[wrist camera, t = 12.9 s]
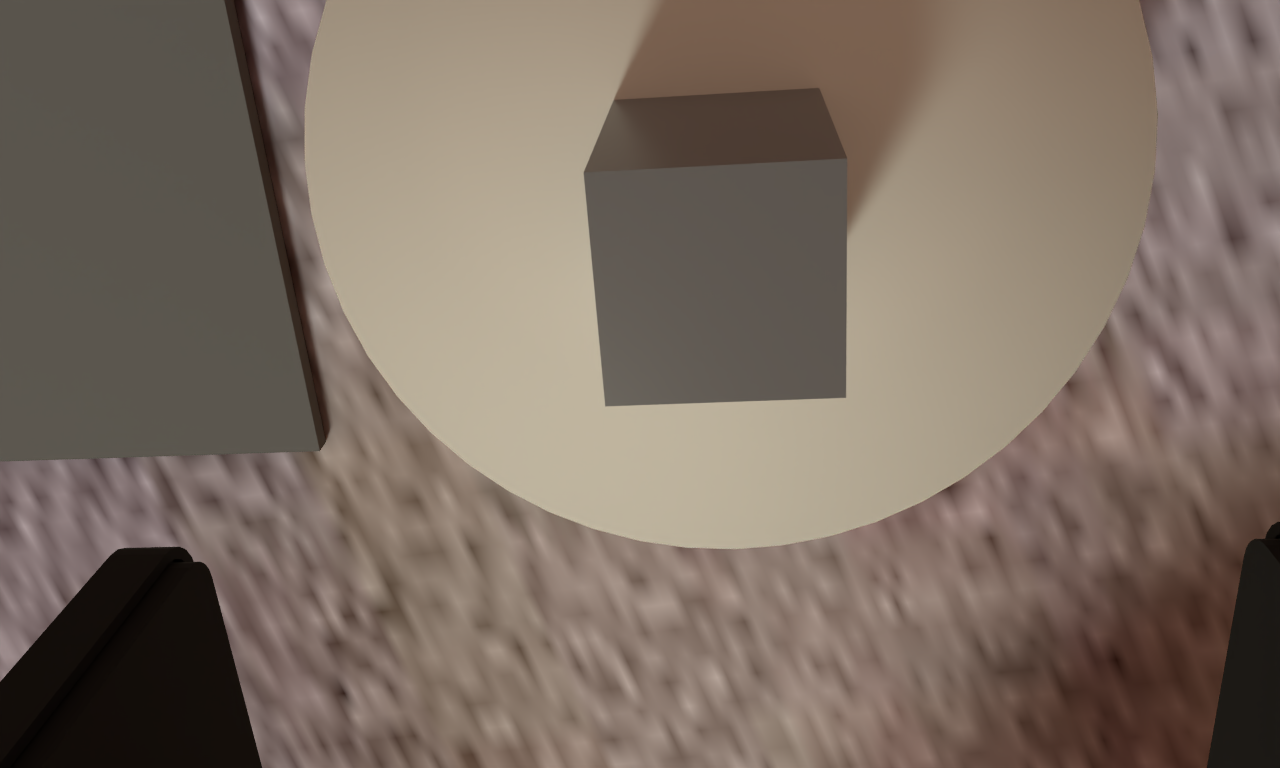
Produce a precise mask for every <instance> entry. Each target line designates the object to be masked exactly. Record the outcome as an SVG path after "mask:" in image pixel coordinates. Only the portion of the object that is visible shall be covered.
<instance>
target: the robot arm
mask: <svg viewBox="0 0 1280 768" xmlns="http://www.w3.org/2000/svg"><path fill="white" fill-rule="evenodd" d="M0 768H262V766H261V762H260V758H259V754H258V750H257V747H256V743H255V739H254V735H253V731H252V727H251V724H250V720H249V716H248V712H247V708H246V705H245V701H244V697H243V693H242V689H241V686H240V682H239V678H238V674H237V670H236V667H235V663H234V659H233V655H232V651H231V648H230V644H229V640H228V636H227V632H226V629H225V625H224V621H223V617H222V613H221V609H220V606H219V602H218V598H217V594H216V590H215V587H214V583H213V579H212V576H211V573H210V570H209V569H208V567H207V566H206V565H205V564H204V563H202V562H193V559H192V557H191V555H190V554H189V553H188V552H187V550H185V549H183V548H181V547H151V548H123V549H118V550H117V551H115V552H114V553H113V554H112V555H110V557H109V558H108V559H107V560H106V561H105V562H104V563H103V565H102V566H101V567H100V568H99V569H98V570H97V571H96V573H95V574H94V575H93V576H92V577H91V578H90V579H89V581H88V582H87V583H86V584H85V585H84V586H83V588H82V589H81V590H80V591H79V592H78V593H77V594H76V596H75V597H74V598H73V599H72V600H71V601H70V602H69V604H68V605H67V606H66V607H65V608H64V609H63V610H62V612H61V613H60V614H59V615H58V616H57V617H56V619H55V620H54V621H53V622H52V623H51V624H50V625H49V627H48V628H47V629H46V630H45V631H44V632H43V633H42V635H41V636H40V637H39V638H38V639H37V640H36V641H35V643H34V644H33V645H32V646H31V647H30V648H29V650H28V651H27V652H26V653H25V654H24V655H23V656H22V658H21V659H20V660H19V661H18V662H17V663H16V664H15V666H14V667H13V668H12V669H11V670H10V671H9V672H8V674H7V675H6V676H5V677H4V678H3V679H2V681H1V682H0ZM1207 768H1280V522H1277V523H1275V524H1274V525H1272V526H1271V528H1270V529H1269V531H1268V532H1267V534H1266V538H1265V539H1254V540H1252V541H1251V542H1250V543H1249V544H1248V546H1247V548H1246V551H1245V555H1244V560H1243V566H1242V571H1241V577H1240V583H1239V588H1238V594H1237V600H1236V605H1235V611H1234V617H1233V622H1232V628H1231V634H1230V640H1229V645H1228V651H1227V657H1226V662H1225V668H1224V674H1223V679H1222V685H1221V691H1220V696H1219V702H1218V708H1217V713H1216V719H1215V725H1214V731H1213V736H1212V742H1211V748H1210V753H1209V759H1208V765H1207Z"/></svg>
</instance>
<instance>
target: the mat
mask: <svg viewBox="0 0 1280 768" xmlns="http://www.w3.org/2000/svg"><path fill="white" fill-rule="evenodd" d="M325 442H326V440H325V435H324V431H323V426H322V421H321V416H320V411H319V407H318V402H317V397H316V392H315V387H314V383H313V378H312V373H311V368H310V363H309V359H308V354H307V349H306V344H305V339H304V335H303V330H302V325H301V320H300V315H299V311H298V306H297V301H296V296H295V292H294V287H293V282H292V277H291V272H290V268H289V263H288V258H287V253H286V248H285V244H284V239H283V234H282V229H281V224H280V220H279V215H278V210H277V205H276V200H275V196H274V191H273V186H272V181H271V176H270V172H269V167H268V162H267V157H266V153H265V148H264V143H263V138H262V133H261V129H260V124H259V119H258V114H257V109H256V105H255V100H254V95H253V90H252V85H251V81H250V76H249V71H248V66H247V61H246V57H245V52H244V47H243V42H242V37H241V33H240V28H239V23H238V18H237V13H236V9H235V4H234V0H0V461H29V460H59V459H90V458H121V457H152V456H182V455H213V454H244V453H275V452H305V451H320V450H321V448H322V447H323V445H324V444H325Z"/></svg>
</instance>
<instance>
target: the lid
mask: <svg viewBox="0 0 1280 768" xmlns="http://www.w3.org/2000/svg"><path fill="white" fill-rule="evenodd" d="M1157 119H1158V113H1157V101H1156V90H1155V79H1154V68H1153V57H1152V53H1151V48H1150V44H1149V40H1148V36H1147V31H1146V27H1145V23H1144V19H1143V14H1142V10H1141V6H1140V2H1139V0H327V1H326V4H325V8H324V11H323V15H322V19H321V22H320V26H319V30H318V33H317V37H316V41H315V44H314V48H313V52H312V58H311V65H310V73H309V80H308V88H307V95H306V103H305V168H306V176H307V183H308V191H309V199H310V206H311V214H312V218H313V222H314V226H315V230H316V233H317V237H318V241H319V245H320V249H321V252H322V256H323V260H324V264H325V267H326V269H327V272H328V274H329V277H330V279H331V282H332V284H333V287H334V289H335V292H336V294H337V297H338V299H339V301H340V304H341V306H342V309H343V311H344V313H345V315H346V317H347V319H348V321H349V323H350V324H351V326H352V328H353V330H354V332H355V333H356V335H357V337H358V339H359V341H360V342H361V344H362V346H363V348H364V350H365V351H366V353H367V355H368V357H369V358H370V359H371V361H372V362H373V364H374V365H375V366H376V368H377V369H378V370H379V372H380V373H381V375H382V376H383V377H384V379H385V380H386V381H387V383H388V384H389V386H390V387H391V388H392V390H393V391H394V392H395V394H396V395H397V397H398V398H399V399H400V400H401V401H402V402H403V403H404V404H405V405H406V406H407V407H408V408H409V409H410V411H411V412H412V413H413V414H414V415H415V416H416V417H417V418H418V419H419V420H420V421H421V422H422V424H423V425H424V426H425V427H426V428H427V429H428V430H429V431H430V432H431V433H432V434H433V435H434V436H436V437H437V438H438V439H439V440H440V441H441V442H443V443H444V444H445V445H446V446H447V447H449V448H450V449H451V450H452V451H453V452H454V453H456V454H457V455H458V456H459V457H460V458H461V459H463V460H464V461H465V462H466V463H467V464H469V465H470V466H472V467H473V468H475V469H476V470H478V471H479V472H481V473H482V474H484V475H485V476H487V477H488V478H490V479H491V480H493V481H494V482H496V483H497V484H499V485H500V486H502V487H503V488H505V489H506V490H508V491H510V492H512V493H513V494H515V495H517V496H519V497H521V498H523V499H525V500H527V501H529V502H531V503H533V504H535V505H537V506H539V507H541V508H543V509H544V510H546V511H548V512H551V513H553V514H556V515H558V516H561V517H564V518H566V519H569V520H572V521H574V522H577V523H579V524H582V525H585V526H587V527H590V528H593V529H596V530H600V531H603V532H607V533H611V534H615V535H619V536H623V537H627V538H631V539H635V540H638V541H644V542H651V543H658V544H665V545H672V546H679V547H686V548H716V549H742V548H755V547H767V546H780V545H787V544H792V543H797V542H802V541H807V540H813V539H818V538H823V537H828V536H832V535H835V534H839V533H842V532H845V531H848V530H852V529H855V528H858V527H861V526H864V525H868V524H871V523H874V522H877V521H879V520H882V519H884V518H886V517H889V516H891V515H893V514H895V513H898V512H900V511H902V510H904V509H907V508H909V507H911V506H914V505H916V504H918V503H920V502H923V501H924V500H926V499H928V498H929V497H931V496H933V495H935V494H936V493H938V492H940V491H941V490H943V489H945V488H947V487H948V486H950V485H952V484H953V483H955V482H957V481H959V480H960V479H962V478H964V477H965V476H967V475H968V474H969V473H971V472H972V471H973V470H975V469H976V468H977V467H979V466H980V465H981V464H983V463H984V462H985V461H987V460H988V459H989V458H991V457H992V456H993V455H995V454H996V453H998V452H999V451H1000V450H1002V449H1003V448H1004V447H1006V446H1007V445H1008V444H1009V443H1010V442H1011V441H1012V440H1013V439H1014V438H1015V437H1016V436H1017V435H1018V434H1019V433H1020V432H1021V431H1022V430H1023V429H1025V428H1026V427H1027V426H1028V425H1029V424H1030V423H1031V422H1032V421H1033V420H1034V419H1035V418H1036V417H1037V416H1038V415H1039V414H1040V413H1041V412H1042V411H1043V410H1044V409H1045V408H1046V407H1047V405H1048V404H1049V403H1050V402H1051V401H1052V399H1053V398H1054V397H1055V396H1056V395H1057V393H1058V392H1059V391H1060V390H1061V389H1062V387H1063V386H1064V385H1065V384H1066V383H1067V381H1068V380H1069V379H1070V378H1071V377H1072V375H1073V374H1074V373H1075V372H1076V370H1077V369H1078V367H1079V366H1080V364H1081V362H1082V361H1083V359H1084V358H1085V356H1086V355H1087V353H1088V352H1089V350H1090V348H1091V347H1092V345H1093V344H1094V342H1095V341H1096V339H1097V338H1098V336H1099V334H1100V333H1101V331H1102V330H1103V328H1104V327H1105V324H1106V322H1107V320H1108V318H1109V316H1110V314H1111V312H1112V310H1113V308H1114V306H1115V304H1116V301H1117V299H1118V297H1119V295H1120V293H1121V291H1122V289H1123V287H1124V285H1125V283H1126V280H1127V278H1128V275H1129V272H1130V269H1131V266H1132V263H1133V260H1134V257H1135V254H1136V251H1137V248H1138V245H1139V242H1140V239H1141V236H1142V233H1143V230H1144V227H1145V221H1146V216H1147V211H1148V205H1149V200H1150V195H1151V189H1152V184H1153V179H1154V173H1155V159H1156V139H1157Z"/></svg>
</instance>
